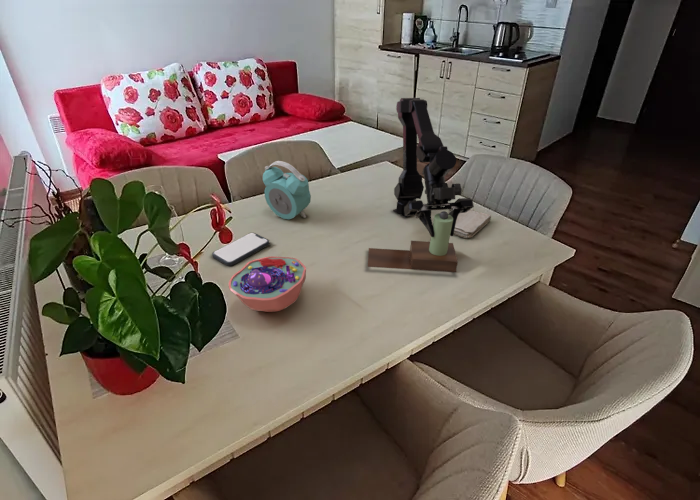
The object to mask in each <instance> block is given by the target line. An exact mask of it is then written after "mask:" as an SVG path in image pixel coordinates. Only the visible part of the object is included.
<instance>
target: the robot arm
mask: <svg viewBox="0 0 700 500" xmlns="http://www.w3.org/2000/svg"><path fill="white" fill-rule="evenodd" d="M395 109H396V113H397V119H398V121H399V122H400V124H401V126H402V146H403V147H402V172H401V173H400V175H399V176H398V183H397V184H396V185H395V187H394V188H393V194H394V196H395V199H396V200H397V202H396V208H394V209H393V213H396V214H397V215H399V216H402V217H403V218H405V219H408V218H409V217H412V216H415V219H419V220H420V222H421V223H422V224H423V226H424V227H425V229H426V230H427V232H428V234H429V235H430V238H431V237H434V229H433V219H432V211H445V210H447V211H448V214H449V215H451V216H452V217H453V223H452V228H451V234H450V237H452V236H454V235H455V234H454V229H455V224H456V220H457V217H458V215H459V214H460V213H465V212H468V211H469V210H470V209H471V210H472V209H473V208H474V207H475V206H474V200H473V199H471V197H462V198H457V200H456V196H461V195H462V186H461V183H452V184H451V186H449V184H448V182H446V176H447V175H448V174H449V173H450V172H451V171H452V170H453V168H454V167H455V166H456V165H457V157H456V156H455V154H454V153H453V152H452V151H451V150H449V149H448V146H446V145H445V146H444V143H443V141H442V138H441V137H439V136H438V135H437V134H435V130H434V128H433V124H432V121H431V117H430V113H429V110H428V101H427V100H426V99H425V98H424V99H423V98H420V97H401V98H399V101H397V102H396V107H395ZM418 161H419V162H420V163H427V164H425V165H424V167H423V169H422V172H421V173H422V174H420V173H419V171H418ZM422 175H423V176H422ZM423 179H424V182H423ZM424 188H425V189H424ZM423 192H424V195H426V203H424V202H423V200H421V198H422V196H423ZM452 200H455V201H454V202H451V201H452Z"/></svg>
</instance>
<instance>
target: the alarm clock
mask: <svg viewBox="0 0 700 500" xmlns="http://www.w3.org/2000/svg"><path fill="white" fill-rule="evenodd" d="M275 165H276V166H275ZM277 166H279V167H283V168H285V169H286V170H289V171H290V172H284V171H283V170H282V169H281V168H279V167H277ZM263 170H264V172H263V173H262V182H263V184H264V186H265V188H264V198H265V202H266V205H268V208H270V210H271V211H272V212H273V213H274V214H275V216H277V217H279V218H281V219H282V220H291V219H294V218H295V217H296V216H298V215H299V216H301V218H304V219H305V218H307V215H306V213H305V212H304V210H305V209H306V208H308V207H309V205H310V203H311V198H312V195H311V191H310V184H309V180H308V178H307V177H306V176H305V175H304V174H302V173H300V172H299V171H298V169H296V167H294V166H293V165H292V164H291V163H288V162H286V161H282V160H276V161H274V162H272V163H271V164H269V165H266V166H264V169H263Z"/></svg>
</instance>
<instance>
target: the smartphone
mask: <svg viewBox="0 0 700 500" xmlns="http://www.w3.org/2000/svg"><path fill="white" fill-rule="evenodd" d="M229 243H230V244H229ZM229 243H228V244H226V245H223V246H222V247H219V248H218V249H216V250H214V251H213V252H212V258H213V259H215V260H217V261H219V262H220V263H222V264H223V265H225V266H227V267H233V266H234V265H236V264H238V263H240V262H241V261H243V260H244V259H246V258H249V257H250V256H252V255H253V254H256V253H257V252H259V251H261V250H263V249H264V248H267V247H268V246H269V245H270V240H269V239H268V238H265V237H264V236H262V235H261V234H260V235H259V234H258V233H256V232H249V233H247V234H245V235H243V236H241V237H239V238H237V239H235V240H233V241H231V242H229Z"/></svg>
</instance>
